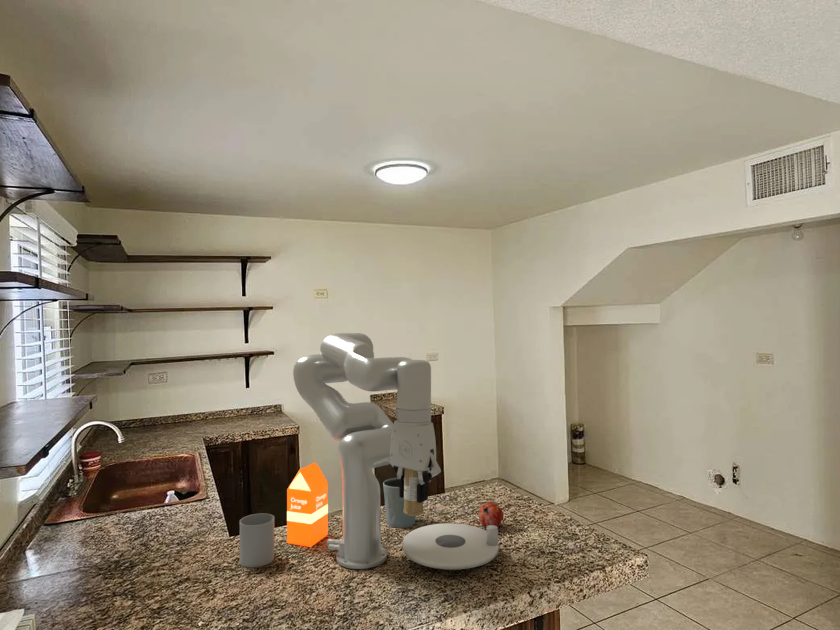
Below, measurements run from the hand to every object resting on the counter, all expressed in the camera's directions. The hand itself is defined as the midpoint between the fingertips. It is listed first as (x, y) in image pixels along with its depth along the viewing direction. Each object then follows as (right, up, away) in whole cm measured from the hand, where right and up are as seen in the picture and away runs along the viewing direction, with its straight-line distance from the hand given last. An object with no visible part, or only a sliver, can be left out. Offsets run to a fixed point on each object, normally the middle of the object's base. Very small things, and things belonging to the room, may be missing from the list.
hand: (413, 497), depth 113 cm
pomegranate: (+22, -21, +35) cm, 47 cm away
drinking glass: (-4, -22, +39) cm, 45 cm away
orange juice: (-29, -22, +28) cm, 46 cm away
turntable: (+9, -21, +16) cm, 28 cm away
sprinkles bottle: (0, -4, 0) cm, 4 cm away
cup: (-39, -21, +15) cm, 47 cm away
